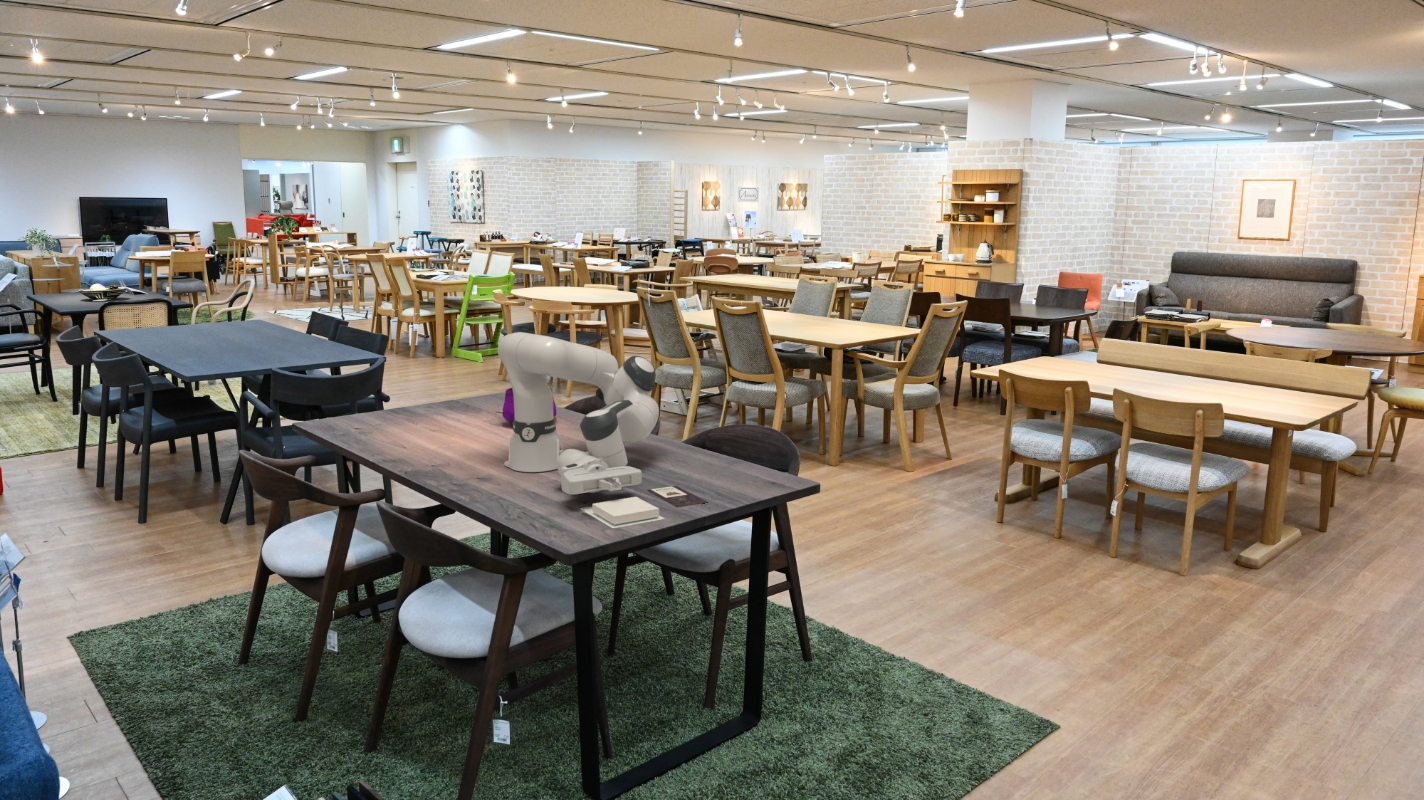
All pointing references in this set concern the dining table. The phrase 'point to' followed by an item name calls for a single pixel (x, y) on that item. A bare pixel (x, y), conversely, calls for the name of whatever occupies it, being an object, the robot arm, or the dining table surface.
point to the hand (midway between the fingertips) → (616, 487)
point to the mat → (590, 512)
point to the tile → (625, 510)
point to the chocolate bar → (677, 496)
